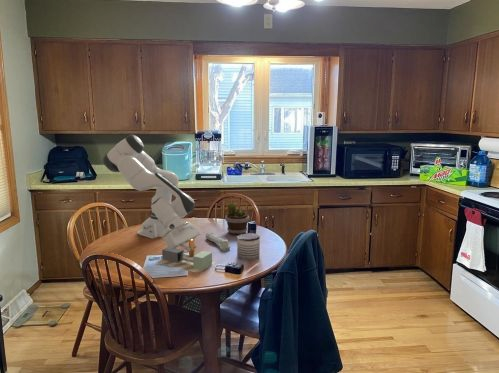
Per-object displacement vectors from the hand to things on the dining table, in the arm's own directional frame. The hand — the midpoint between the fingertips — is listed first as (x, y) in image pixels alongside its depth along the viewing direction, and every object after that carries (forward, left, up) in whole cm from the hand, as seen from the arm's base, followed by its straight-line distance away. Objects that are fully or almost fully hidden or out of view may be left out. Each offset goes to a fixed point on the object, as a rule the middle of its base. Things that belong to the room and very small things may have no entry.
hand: (192, 249), depth 178 cm
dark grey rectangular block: (-12, 0, -7) cm, 14 cm away
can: (+18, +22, -9) cm, 30 cm away
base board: (-4, 0, -8) cm, 9 cm away
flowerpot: (-7, +55, -9) cm, 56 cm away
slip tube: (-3, 0, -6) cm, 7 cm away
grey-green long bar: (-5, +30, -9) cm, 32 cm away
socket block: (+6, 0, -7) cm, 9 cm away
